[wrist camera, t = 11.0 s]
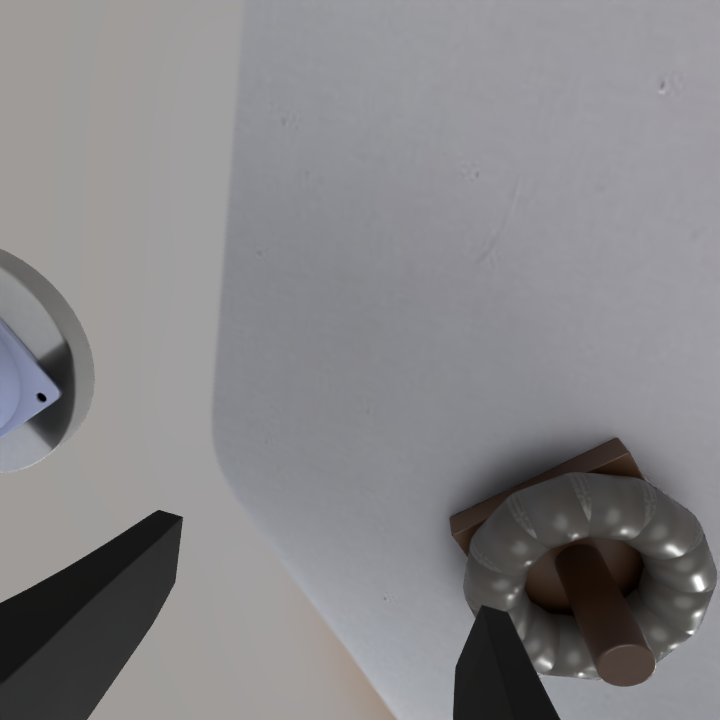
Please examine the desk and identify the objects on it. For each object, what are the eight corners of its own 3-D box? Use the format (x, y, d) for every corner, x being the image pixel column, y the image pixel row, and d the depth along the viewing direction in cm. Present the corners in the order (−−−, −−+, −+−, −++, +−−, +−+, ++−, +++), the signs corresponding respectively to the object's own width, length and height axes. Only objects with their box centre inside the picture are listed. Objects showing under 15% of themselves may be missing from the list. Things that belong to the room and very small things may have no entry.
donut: (450, 631, 24) (455, 678, 22) (478, 452, 21) (488, 485, 19) (659, 653, 24) (687, 703, 22) (723, 473, 20) (763, 510, 18)
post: (530, 634, 26) (569, 772, 20) (449, 517, 23) (465, 631, 18) (691, 570, 24) (787, 701, 18) (617, 437, 22) (698, 535, 16)
